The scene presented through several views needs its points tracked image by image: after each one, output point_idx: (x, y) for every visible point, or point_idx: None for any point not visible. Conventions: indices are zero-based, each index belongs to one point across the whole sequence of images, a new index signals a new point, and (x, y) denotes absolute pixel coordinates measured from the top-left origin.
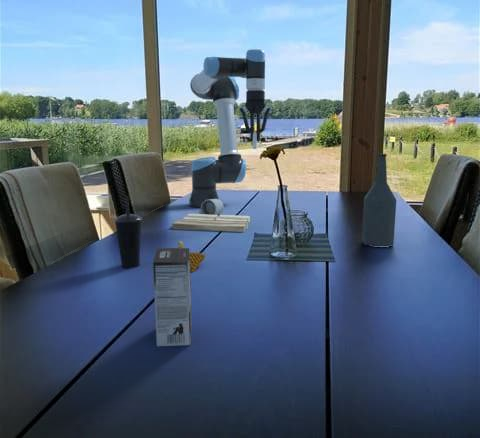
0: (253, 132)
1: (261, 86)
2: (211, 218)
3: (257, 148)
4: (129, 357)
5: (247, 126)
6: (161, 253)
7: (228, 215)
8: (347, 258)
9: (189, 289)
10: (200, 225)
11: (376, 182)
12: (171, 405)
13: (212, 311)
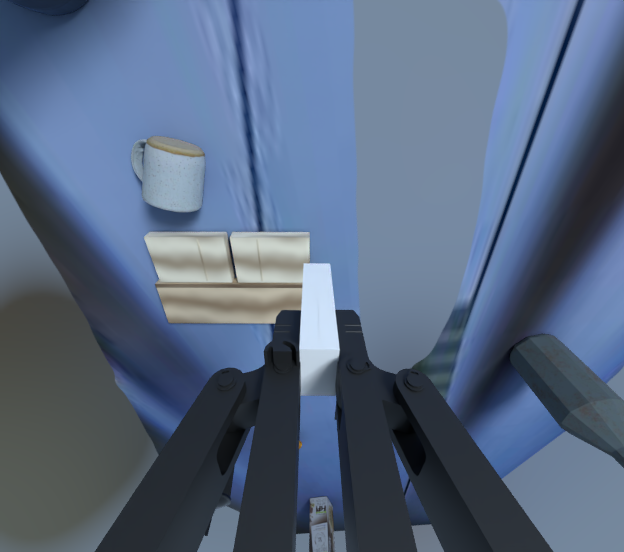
0: (300, 385)
1: None
2: (223, 270)
3: (329, 268)
4: (307, 513)
5: (227, 465)
6: None
7: (253, 240)
8: (461, 402)
9: (334, 544)
10: (227, 322)
11: (612, 456)
12: (337, 525)
13: (334, 486)
